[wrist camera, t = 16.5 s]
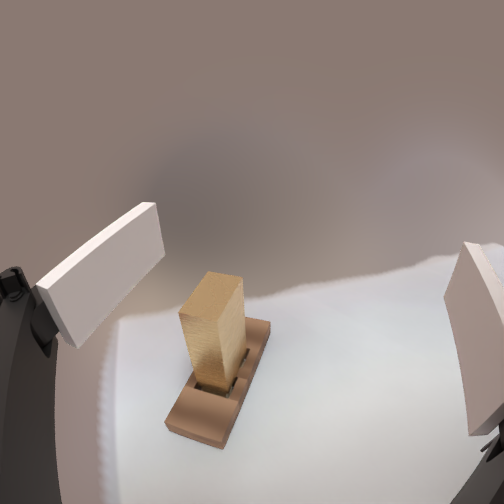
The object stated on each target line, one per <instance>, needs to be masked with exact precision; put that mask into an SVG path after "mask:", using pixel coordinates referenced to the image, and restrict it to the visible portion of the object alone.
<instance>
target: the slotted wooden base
mask: <svg viewBox="0 0 504 504" xmlns="http://www.w3.org/2000/svg"><path fill="white" fill-rule="evenodd" d="M245 331H246V348H247V353H246V355H245V358H244V359H246V361H245V363H244V365H243V368H241V367H240V369H239V371H238V373H237V376H236V378H235V380H234V382H233V385H232V386H234V388H233V390H232V393H231V395H230V397H229V399H227V398H224V397H220V396H217V395H214V394H210V393H207V392H204V391H201V390H202V388H201V386H200V385H198V383H197V380H196V376H195V373H194V370H193V372H192V374H191V376H190V377H189V379H188V381H187V383H186V385H185V386H184V388H183V390H182V392H181V393H180V395H179V397H178V399H177V400H176V402H175V404H174V406H173V407H172V409H171V411H170V413H169V414H168V416H167V418H166V420H165V421H164V422H165V424H166V426H167V427H168V429H169V431H172V432H174V433H177V434H180V435H182V436H185V437H187V438H190V439H193V440H196V441H199V442H201V443H204V444H207V445H210V446H213V447H217V448H220V449H224V447H225V444H226V442H227V440H228V437H229V435H230V433H231V430H232V428H233V426H234V423H235V421H236V418H237V416H238V414H239V411H240V409H241V406H242V404H243V401H244V399H245V396H246V394H247V392H248V389H249V387H250V384H251V382H252V379H253V377H254V374H255V371H256V369H257V366H258V364H259V361H260V359H261V356H262V353H263V351H264V348H265V346H266V343H267V340H268V338H269V335H270V322H269V321H264V320H258V319H253V318H248V317H245Z"/></svg>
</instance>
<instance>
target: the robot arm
mask: <svg viewBox="0 0 504 504" xmlns="http://www.w3.org/2000/svg"><path fill="white" fill-rule="evenodd" d="M164 256H165V251H164V246H163V241H162V235H161V230H160V224H159V219H158V213H157V207H156V203H148V202H142V203H141V204H139V205H138V206H136V207H135V208H133V209H132V210H130V211H129V212H128V213H126V214H125V215H123V216H122V217H120V218H119V219H118V220H116V221H115V222H113V223H112V224H111V225H109V226H108V227H107V228H105V229H104V230H102V231H101V232H100V233H98V234H97V235H96V236H94V237H93V238H92V239H90V240H89V241H88V242H87V243H85V244H84V245H83V246H81V247H80V248H79V249H78V250H76V251H75V252H74V253H73V254H71V255H70V256H69V257H68V258H66V259H65V260H64V261H62V262H61V263H60V264H59V265H58V266H56V267H55V268H54V269H53V270H51V271H50V272H49V273H48V274H47V275H46V276H44V277H43V278H42V279H41V280H40V281H39V282H37V283H36V285H35V286H34V287H33V288H31V289H30V287H29V285H28V282H27V280H26V278H25V276H24V274H23V271H22V269H21V268H20V267H11V268H9V269H6V270H5V271H4V272H2V273H1V274H0V504H62V502H61V496H60V489H59V481H58V472H57V461H56V448H55V424H54V423H55V419H54V405H55V375H56V360H57V350H58V340H57V338H56V336H55V335H56V334H57V333H58V332H60V333H61V335H62V337H63V339H64V340H65V342H66V343H68V344H69V345H71V346H73V347H75V348H77V349H79V348H80V347H81V345H82V344H83V343H84V342H85V341H86V340H87V338H88V337H89V336H90V335H91V334H92V333H93V332H94V331H95V329H96V328H97V327H98V326H99V325H100V324H101V323H102V321H103V320H104V319H105V318H106V317H107V316H108V315H109V314H110V313H111V312H112V310H113V309H114V308H115V307H116V306H117V305H118V304H119V303H120V302H121V301H122V300H123V298H124V297H125V296H126V295H127V294H128V293H129V292H130V291H131V290H132V289H133V288H134V287H135V286H136V285H137V284H138V282H139V281H140V280H141V279H142V278H143V277H144V276H145V275H146V274H147V273H148V272H149V271H150V270H151V269H152V268H153V267H154V266H155V265H156V264H157V263H158V262H159V261H160V260H161V259H162V258H163V257H164ZM444 300H445V304H446V308H447V311H448V315H449V319H450V323H451V327H452V331H453V335H454V340H455V344H456V349H457V354H458V359H459V364H460V369H461V375H462V381H463V388H464V394H465V402H466V411H467V420H468V432H469V436H478V435H488V434H489V433H490V432H491V431H492V430H493V429H494V428H496V427H497V426H498V425H499V432H500V434H498V435H497V436H496V437H495V438H494V439H493V440H491V441H490V442H489V443H488V444H487V445H485V446H484V447H483V448H482V449H481V450H480V451H481V452H483V451H485V450H486V449H487V448H488V450H487V452H486V453H485V455H484V457H483V458H482V460H481V461H480V463H479V464H478V466H477V467H476V469H475V470H474V472H473V473H472V475H471V476H470V478H469V479H468V481H467V482H466V483H465V485H464V486H463V487H462V489H461V490H460V491H459V493H458V494H457V495H456V497H455V498H454V499H453V501H452V502H451V503H450V504H504V288H503V286H502V284H501V282H500V281H499V279H498V277H497V275H496V273H495V271H494V269H493V268H492V266H491V264H490V262H489V261H488V259H487V257H486V256H485V254H484V252H483V251H482V249H481V247H480V246H479V244H473V243H468V242H463V245H462V248H461V251H460V254H459V257H458V260H457V263H456V266H455V269H454V272H453V274H452V277H451V280H450V282H449V285H448V287H447V290H446V292H445V295H444Z"/></svg>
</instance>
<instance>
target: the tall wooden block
mask: <svg viewBox="0 0 504 504" xmlns="http://www.w3.org/2000/svg"><path fill="white" fill-rule="evenodd" d="M178 313H179V317H180V321H181V325H182V329H183V333H184V337H185V341H186V344H187V348H188V352H189V355H190V359H191V363H192V366H193V370H194V373H195V376H196V380H197V383H198V385H200V386H201V388H202V391H204V392H207V393H210V394H214V395H217V396H220V397H224V398H227V399H229V397H230V395H231V393H232V385H233V382H234V380H235V378H236V376H237V373H238V371H239V369H240V367H241V368H243V365H244V363H245V360H244V358H245V355H246V353H247V348H246V331H245V314H244V297H243V278H242V277H237V276H231V275H226V274H220V273H214V272H207V274H206V275H205V277H204V278H203V279H202V280H201V282H200V283H199V285H198V286H197V287H196V289H195V290H194V291H193V293H192V294H191V295H190V297H189V298H188V300H187V301H186V302H185V304H184V305H183V306H182V308H181V309H180V311H179V312H178Z"/></svg>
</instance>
